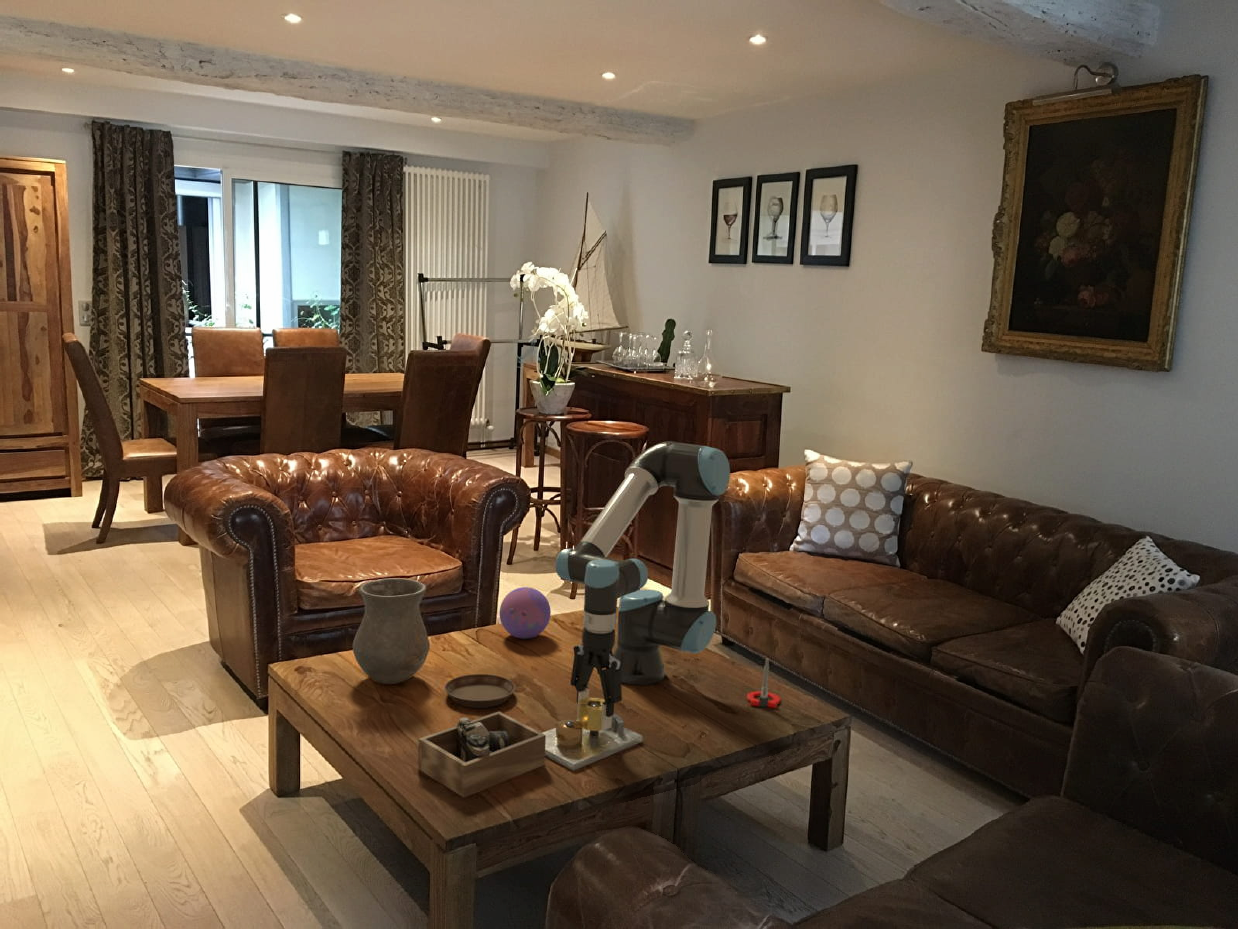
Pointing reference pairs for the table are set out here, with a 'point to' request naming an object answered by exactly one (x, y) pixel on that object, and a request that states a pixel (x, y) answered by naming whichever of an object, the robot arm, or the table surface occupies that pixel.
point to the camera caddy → (487, 770)
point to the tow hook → (764, 693)
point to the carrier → (587, 742)
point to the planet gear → (590, 713)
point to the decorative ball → (525, 612)
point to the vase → (391, 630)
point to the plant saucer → (479, 690)
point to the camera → (478, 740)
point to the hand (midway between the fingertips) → (594, 722)
